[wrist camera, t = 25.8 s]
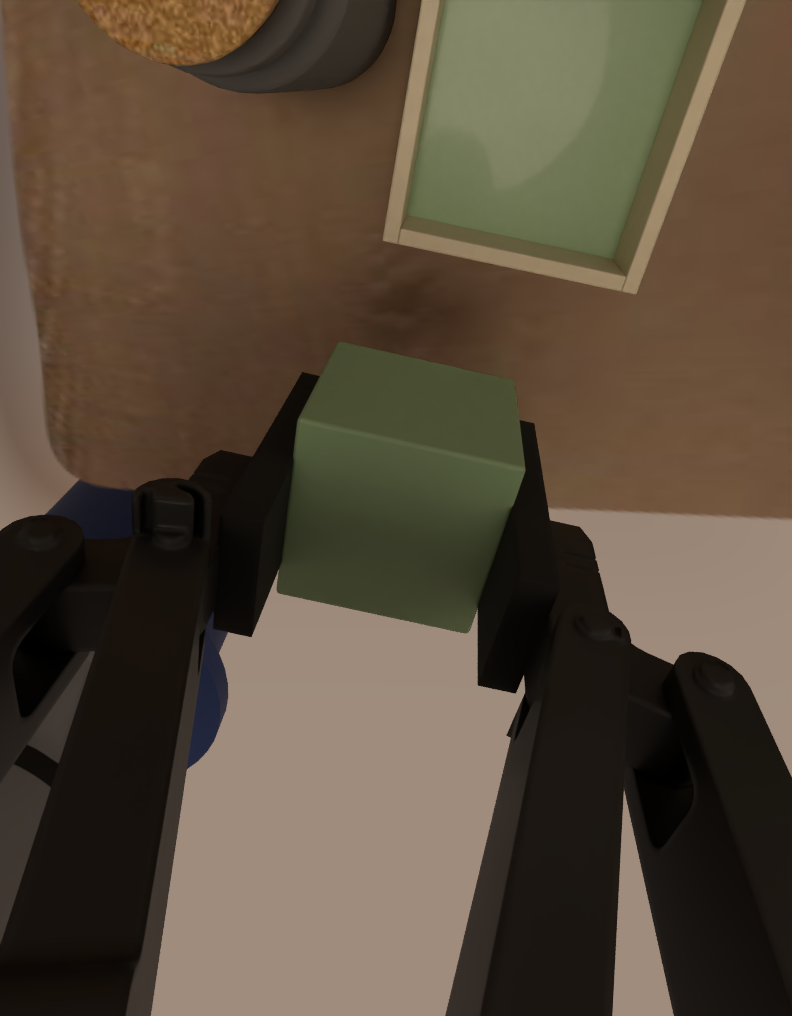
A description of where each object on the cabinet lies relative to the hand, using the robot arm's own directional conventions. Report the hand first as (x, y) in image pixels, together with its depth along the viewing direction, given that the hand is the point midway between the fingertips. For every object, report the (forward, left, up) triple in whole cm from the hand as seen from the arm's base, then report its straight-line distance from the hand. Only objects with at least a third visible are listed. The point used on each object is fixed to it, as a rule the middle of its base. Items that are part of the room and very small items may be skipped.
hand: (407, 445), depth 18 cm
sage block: (0, 0, 0) cm, 0 cm away
